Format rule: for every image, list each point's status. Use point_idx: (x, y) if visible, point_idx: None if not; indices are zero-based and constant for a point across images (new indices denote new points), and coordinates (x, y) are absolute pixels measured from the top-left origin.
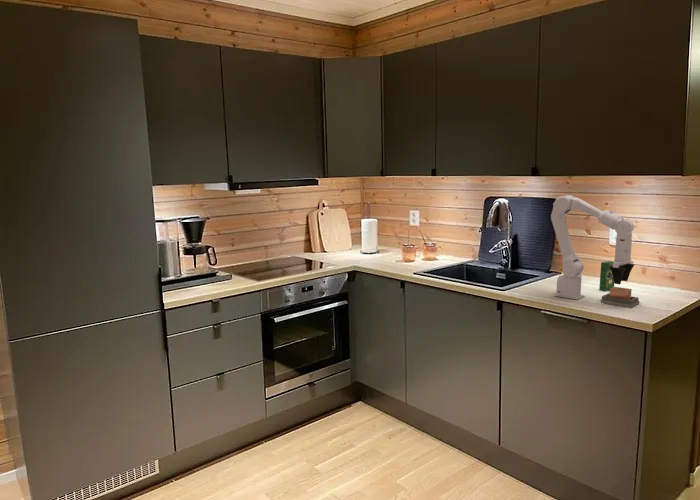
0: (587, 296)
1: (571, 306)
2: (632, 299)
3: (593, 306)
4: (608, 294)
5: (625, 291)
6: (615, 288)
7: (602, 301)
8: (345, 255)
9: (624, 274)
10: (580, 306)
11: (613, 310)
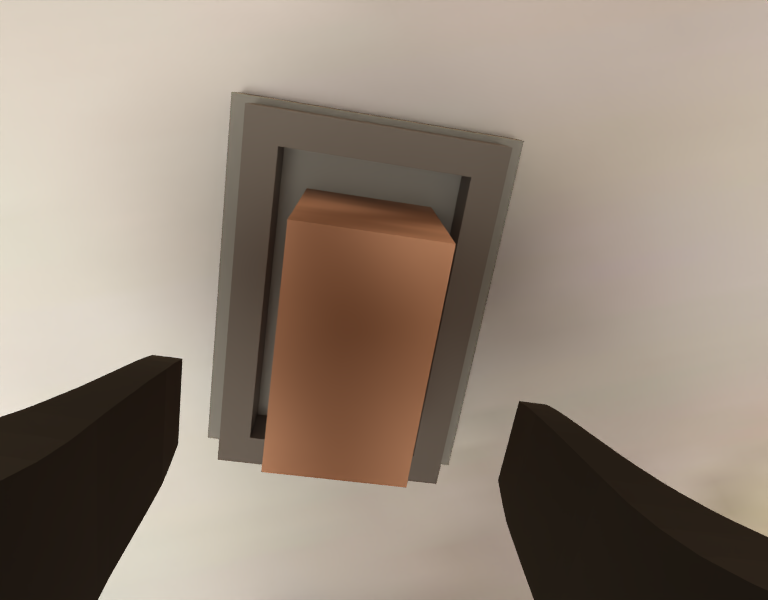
0: (248, 588)
1: None
2: (414, 156)
3: None
4: None
5: (444, 275)
6: (385, 425)
7: (450, 438)
8: None
9: (122, 489)
10: None
11: (703, 280)
